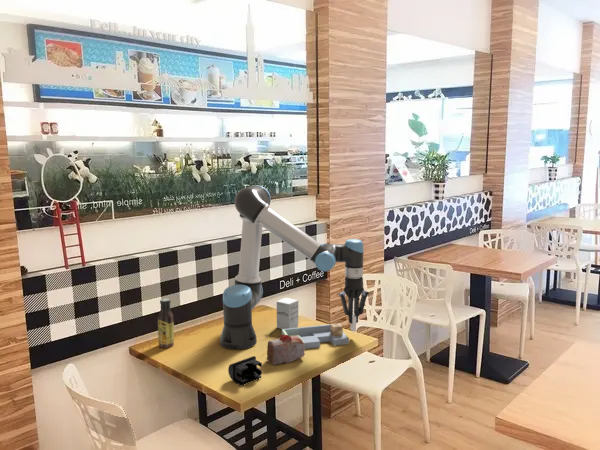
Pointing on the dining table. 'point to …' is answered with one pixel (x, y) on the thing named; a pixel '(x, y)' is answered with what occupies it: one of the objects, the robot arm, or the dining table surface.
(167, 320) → the sauce bottle
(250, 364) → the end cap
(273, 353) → the food item
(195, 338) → the dining table surface
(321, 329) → the tray
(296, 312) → the supplement box
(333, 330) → the oak block
